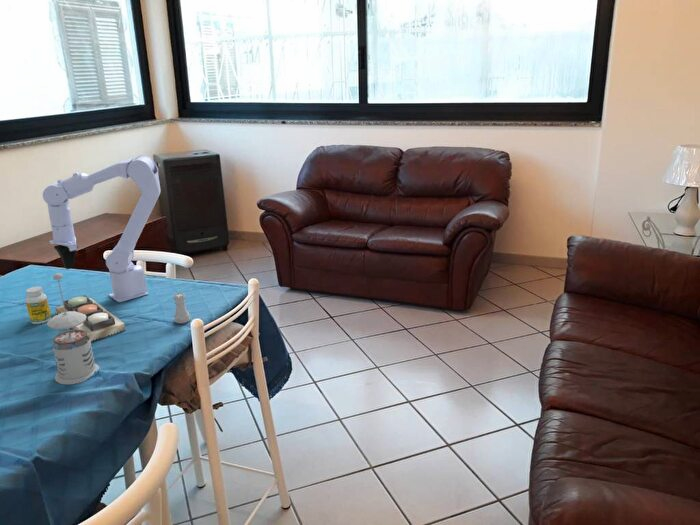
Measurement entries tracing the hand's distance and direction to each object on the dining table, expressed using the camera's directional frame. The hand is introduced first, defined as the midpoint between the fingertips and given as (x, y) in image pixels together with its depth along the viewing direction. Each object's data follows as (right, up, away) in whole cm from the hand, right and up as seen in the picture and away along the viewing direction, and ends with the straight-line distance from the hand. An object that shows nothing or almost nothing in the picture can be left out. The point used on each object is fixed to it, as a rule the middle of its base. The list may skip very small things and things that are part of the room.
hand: (69, 268), depth 173 cm
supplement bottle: (-3, -15, -10) cm, 18 cm away
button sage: (+6, -11, -7) cm, 14 cm away
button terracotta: (+11, -13, -12) cm, 21 cm away
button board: (+11, -15, -12) cm, 22 cm away
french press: (+20, -24, -37) cm, 49 cm away
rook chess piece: (+37, -15, -12) cm, 42 cm away
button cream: (+17, -15, -18) cm, 29 cm away
